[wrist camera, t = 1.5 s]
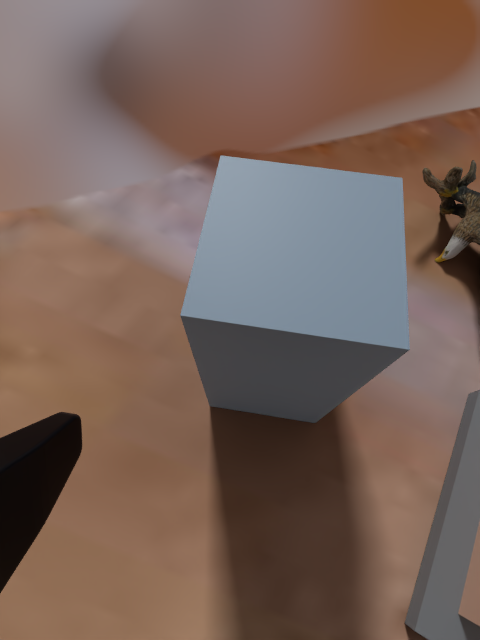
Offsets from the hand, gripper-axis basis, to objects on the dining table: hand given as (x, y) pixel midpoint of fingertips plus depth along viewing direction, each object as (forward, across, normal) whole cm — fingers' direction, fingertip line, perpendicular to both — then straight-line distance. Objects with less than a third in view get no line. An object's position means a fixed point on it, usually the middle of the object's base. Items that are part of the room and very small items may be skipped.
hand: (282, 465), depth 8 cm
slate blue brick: (+13, 0, +4) cm, 14 cm away
